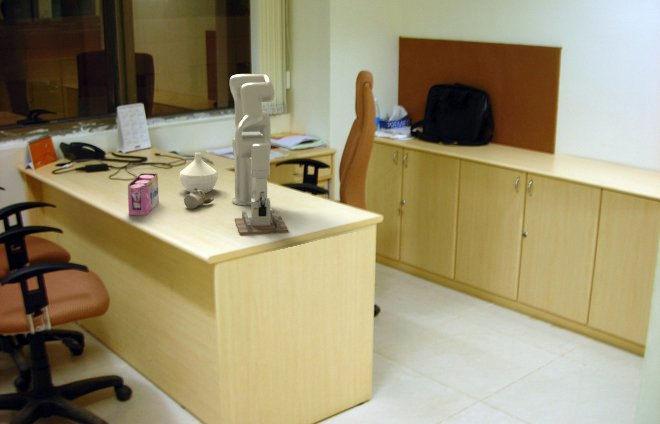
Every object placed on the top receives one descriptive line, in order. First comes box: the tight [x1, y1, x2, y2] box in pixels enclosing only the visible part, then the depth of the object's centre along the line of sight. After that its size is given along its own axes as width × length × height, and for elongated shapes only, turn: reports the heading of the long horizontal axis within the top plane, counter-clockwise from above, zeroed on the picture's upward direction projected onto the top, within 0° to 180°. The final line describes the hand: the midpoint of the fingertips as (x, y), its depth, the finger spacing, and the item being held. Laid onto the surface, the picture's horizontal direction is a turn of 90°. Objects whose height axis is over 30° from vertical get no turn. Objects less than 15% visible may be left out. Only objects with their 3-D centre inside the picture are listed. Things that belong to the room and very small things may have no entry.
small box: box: [250, 197, 271, 226], centre depth 324 cm, size 8×6×10 cm
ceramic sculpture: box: [183, 188, 215, 210], centre depth 354 cm, size 11×9×15 cm
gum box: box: [127, 172, 160, 216], centre depth 347 cm, size 24×8×14 cm, turn 178°
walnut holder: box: [234, 209, 289, 236], centre depth 325 cm, size 20×20×4 cm
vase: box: [179, 151, 219, 194], centre depth 376 cm, size 18×18×19 cm
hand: (260, 212), depth 324 cm, fingers open, 9 cm apart
